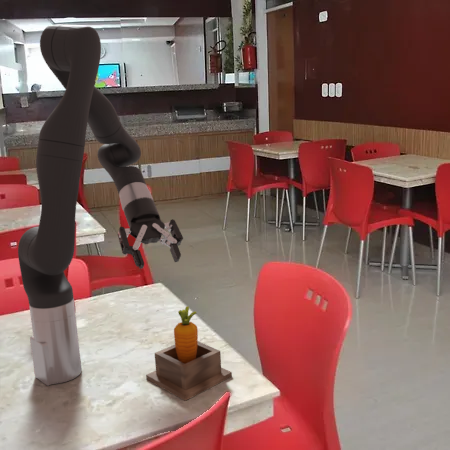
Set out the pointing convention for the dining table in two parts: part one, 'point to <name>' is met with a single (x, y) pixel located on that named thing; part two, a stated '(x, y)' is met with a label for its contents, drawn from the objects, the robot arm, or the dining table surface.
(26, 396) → the dining table surface
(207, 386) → the socket block
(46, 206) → the robot arm
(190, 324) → the carrot
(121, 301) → the dining table surface
